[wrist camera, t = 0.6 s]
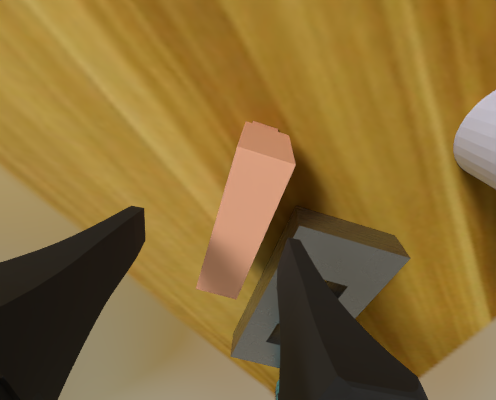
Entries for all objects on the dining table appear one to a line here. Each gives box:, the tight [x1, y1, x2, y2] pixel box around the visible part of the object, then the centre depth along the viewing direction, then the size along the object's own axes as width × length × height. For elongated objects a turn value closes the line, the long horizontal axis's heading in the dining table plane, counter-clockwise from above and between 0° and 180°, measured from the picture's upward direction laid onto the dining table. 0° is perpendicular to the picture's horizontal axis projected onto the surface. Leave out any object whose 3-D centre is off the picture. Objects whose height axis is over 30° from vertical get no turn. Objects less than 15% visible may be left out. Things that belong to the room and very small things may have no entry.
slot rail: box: [231, 206, 410, 368], centre depth 27 cm, size 10×22×3 cm, turn 163°
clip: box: [196, 121, 296, 299], centre depth 18 cm, size 3×11×8 cm, turn 163°
